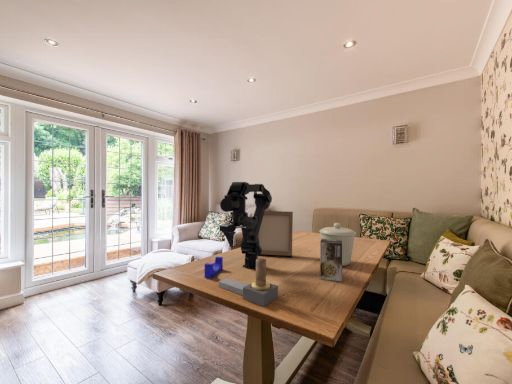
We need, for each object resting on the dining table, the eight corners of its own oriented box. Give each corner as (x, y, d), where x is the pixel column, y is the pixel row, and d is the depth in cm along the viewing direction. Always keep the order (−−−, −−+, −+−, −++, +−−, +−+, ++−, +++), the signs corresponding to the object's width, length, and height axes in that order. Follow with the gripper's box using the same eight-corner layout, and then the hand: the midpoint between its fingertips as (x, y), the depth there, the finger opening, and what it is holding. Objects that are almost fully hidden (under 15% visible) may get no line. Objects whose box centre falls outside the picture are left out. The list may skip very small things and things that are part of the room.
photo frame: (291, 257, 134) (292, 212, 134) (253, 255, 137) (253, 211, 137) (292, 251, 148) (292, 210, 148) (257, 249, 152) (257, 209, 152)
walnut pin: (262, 291, 89) (263, 256, 89) (273, 297, 84) (273, 260, 84) (248, 295, 86) (248, 258, 85) (257, 302, 80) (258, 263, 80)
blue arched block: (213, 268, 115) (213, 256, 115) (222, 269, 114) (222, 257, 114) (201, 277, 103) (201, 263, 103) (211, 278, 102) (211, 264, 102)
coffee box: (341, 276, 106) (342, 240, 106) (342, 282, 100) (342, 243, 100) (320, 274, 109) (321, 238, 109) (319, 279, 103) (320, 241, 103)
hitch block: (230, 281, 99) (231, 271, 99) (277, 297, 86) (278, 285, 85) (215, 288, 92) (215, 277, 92) (263, 306, 79) (263, 294, 78)
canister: (320, 267, 118) (320, 224, 117) (317, 257, 136) (318, 219, 135) (359, 270, 115) (360, 226, 114) (351, 259, 132) (352, 220, 132)
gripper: (238, 213, 95) (238, 252, 95) (265, 209, 110) (265, 244, 110) (218, 211, 102) (218, 248, 102) (247, 208, 116) (246, 240, 117)
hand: (238, 245), depth 107 cm, fingers open, 9 cm apart
